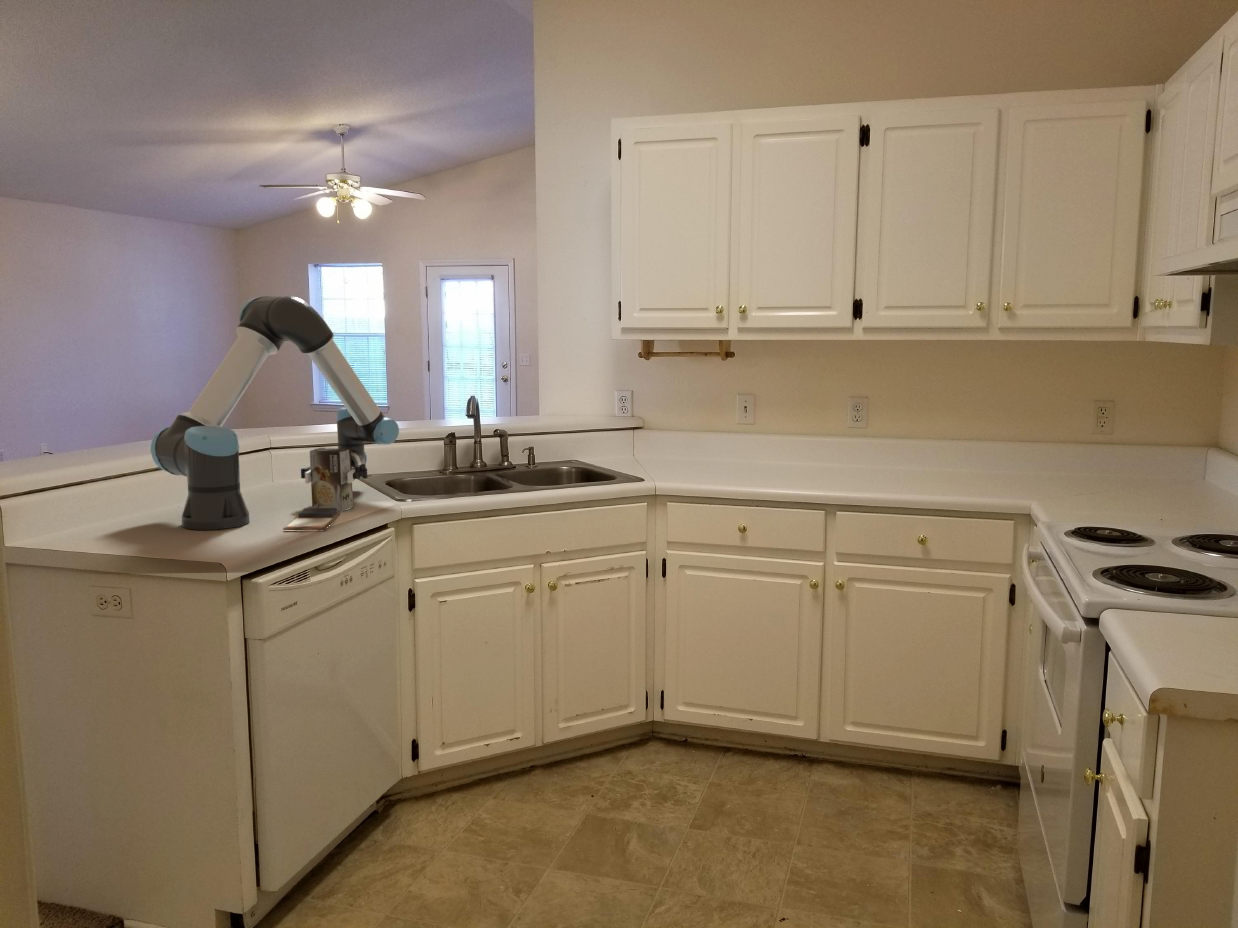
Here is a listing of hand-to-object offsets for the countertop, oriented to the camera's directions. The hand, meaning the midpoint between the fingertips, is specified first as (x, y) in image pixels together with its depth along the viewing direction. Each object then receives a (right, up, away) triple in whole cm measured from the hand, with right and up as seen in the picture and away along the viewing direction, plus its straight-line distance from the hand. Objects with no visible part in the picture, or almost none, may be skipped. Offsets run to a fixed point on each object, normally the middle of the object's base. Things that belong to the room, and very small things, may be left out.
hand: (327, 478), depth 234 cm
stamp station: (0, -11, -12) cm, 16 cm away
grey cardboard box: (-1, -8, +6) cm, 10 cm away
